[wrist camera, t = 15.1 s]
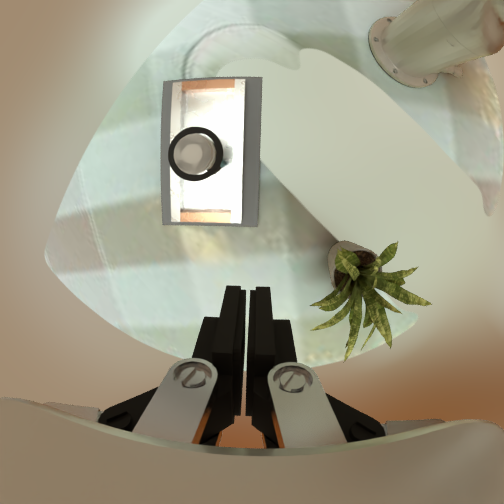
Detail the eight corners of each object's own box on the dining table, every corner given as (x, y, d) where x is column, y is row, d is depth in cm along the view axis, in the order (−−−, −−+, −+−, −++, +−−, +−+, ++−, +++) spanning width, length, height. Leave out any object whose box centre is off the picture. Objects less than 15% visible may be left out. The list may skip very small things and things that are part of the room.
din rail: (245, 83, 30) (245, 79, 27) (242, 219, 36) (241, 223, 34) (177, 86, 30) (172, 82, 28) (176, 217, 36) (171, 221, 34)
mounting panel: (262, 79, 30) (262, 77, 29) (257, 224, 37) (257, 227, 36) (166, 83, 30) (163, 81, 29) (165, 222, 37) (162, 224, 36)
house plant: (267, 260, 39) (273, 328, 23) (333, 186, 35) (386, 210, 20) (334, 312, 42) (365, 386, 26) (394, 250, 38) (455, 301, 23)
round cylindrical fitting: (175, 144, 32) (146, 141, 23) (208, 118, 31) (189, 103, 21) (206, 183, 34) (187, 194, 24) (240, 157, 33) (233, 158, 23)
